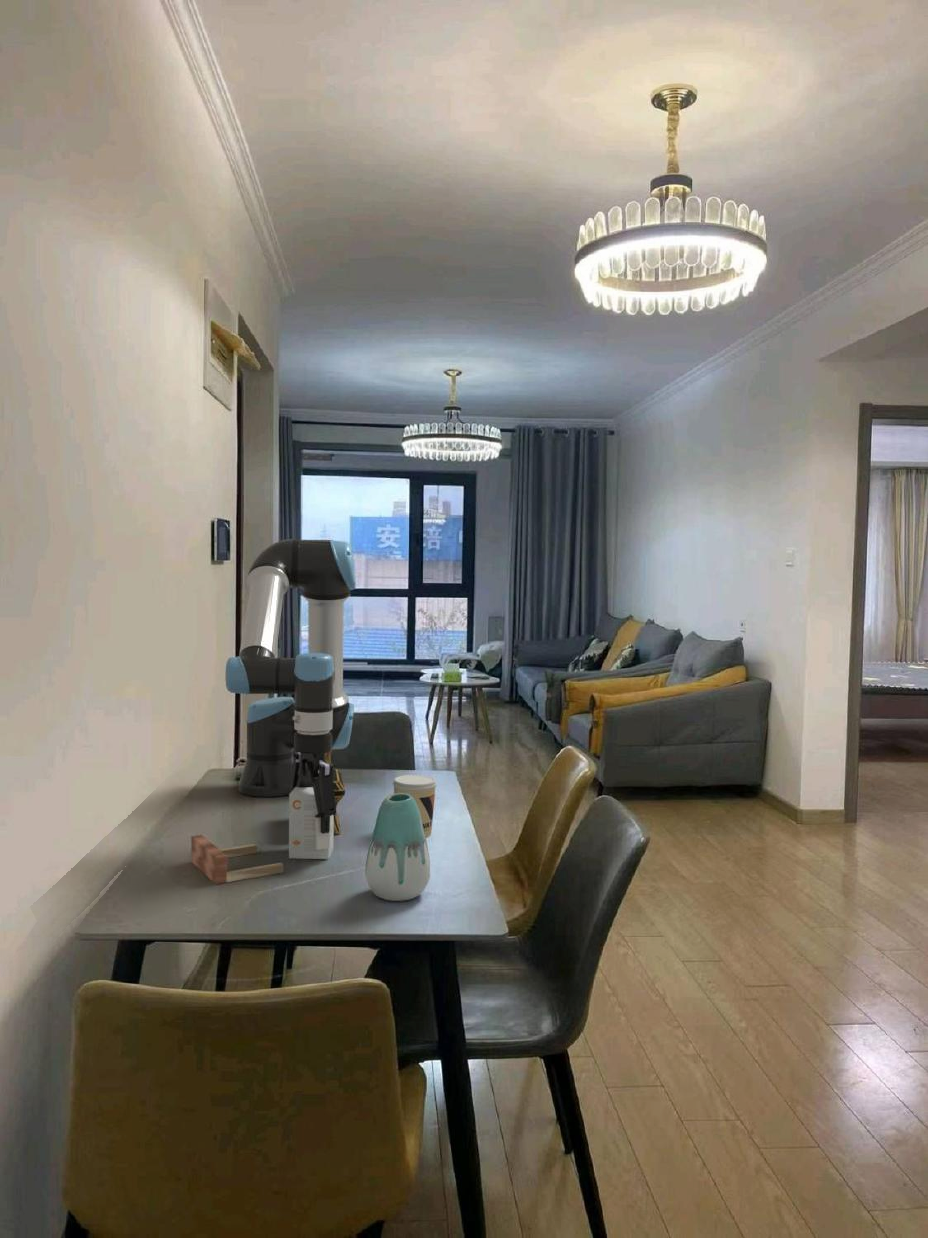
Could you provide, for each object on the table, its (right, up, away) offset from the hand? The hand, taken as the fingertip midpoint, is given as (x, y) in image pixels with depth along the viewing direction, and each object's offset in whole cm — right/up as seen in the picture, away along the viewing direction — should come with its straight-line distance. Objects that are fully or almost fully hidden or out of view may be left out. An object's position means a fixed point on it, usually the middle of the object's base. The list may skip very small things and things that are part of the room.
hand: (311, 841), depth 187 cm
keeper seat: (-13, -3, -8) cm, 15 cm away
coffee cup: (+20, -2, +16) cm, 25 cm away
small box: (0, -3, 0) cm, 3 cm away
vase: (+19, -5, -21) cm, 28 cm away
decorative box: (-1, -2, +18) cm, 18 cm away
